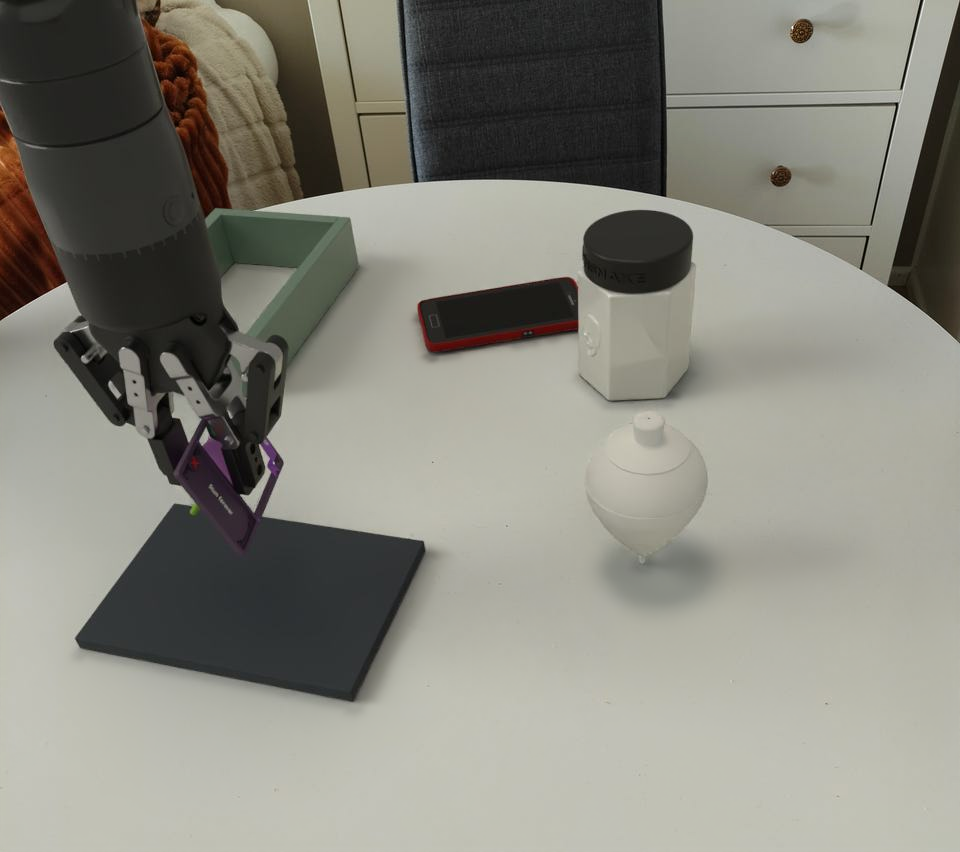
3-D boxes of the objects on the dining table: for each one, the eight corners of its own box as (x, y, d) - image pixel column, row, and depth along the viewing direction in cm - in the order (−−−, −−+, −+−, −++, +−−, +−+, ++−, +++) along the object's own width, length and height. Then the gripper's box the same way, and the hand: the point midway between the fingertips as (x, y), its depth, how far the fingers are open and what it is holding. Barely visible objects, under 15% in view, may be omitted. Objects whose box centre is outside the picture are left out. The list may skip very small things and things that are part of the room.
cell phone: (416, 310, 94) (415, 300, 93) (573, 284, 95) (573, 274, 94) (427, 355, 89) (426, 345, 88) (593, 328, 90) (593, 318, 89)
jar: (562, 363, 87) (559, 227, 78) (643, 333, 89) (649, 196, 80) (620, 416, 81) (624, 276, 72) (705, 382, 83) (719, 242, 74)
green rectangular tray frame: (116, 381, 91) (95, 331, 87) (228, 256, 104) (215, 207, 101) (262, 399, 87) (248, 347, 83) (359, 266, 101) (350, 217, 97)
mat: (79, 648, 69) (73, 638, 68) (178, 512, 78) (174, 502, 77) (353, 702, 64) (350, 692, 63) (426, 550, 73) (424, 540, 72)
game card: (188, 469, 57) (235, 376, 63) (116, 492, 59) (169, 399, 65) (255, 554, 61) (294, 459, 67) (186, 572, 63) (229, 478, 69)
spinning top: (721, 558, 70) (740, 412, 61) (649, 621, 67) (658, 476, 58) (634, 510, 74) (640, 366, 65) (562, 566, 71) (557, 423, 62)
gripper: (284, 184, 51) (345, 458, 64) (42, 169, 55) (146, 431, 67) (216, 259, 46) (296, 538, 59) (-43, 237, 50) (85, 505, 63)
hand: (215, 480), depth 63 cm, fingers closed on game card, 4 cm apart
